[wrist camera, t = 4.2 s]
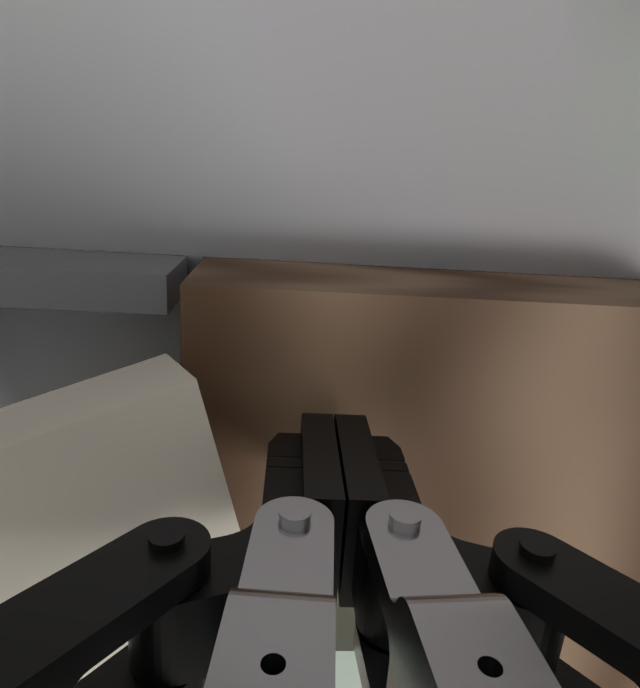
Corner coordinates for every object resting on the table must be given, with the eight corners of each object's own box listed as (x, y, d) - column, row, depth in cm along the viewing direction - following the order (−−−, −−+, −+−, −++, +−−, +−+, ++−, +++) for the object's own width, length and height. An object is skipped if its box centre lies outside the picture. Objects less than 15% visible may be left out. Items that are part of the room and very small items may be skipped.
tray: (186, 256, 16) (166, 275, 13) (191, 629, 20) (176, 704, 18) (-118, 239, 16) (-207, 256, 13) (-47, 629, 20) (-103, 707, 17)
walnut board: (652, 280, 17) (755, 312, 14) (563, 629, 22) (623, 728, 18) (204, 257, 16) (179, 284, 12) (204, 629, 21) (186, 735, 17)
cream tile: (166, 353, 13) (196, 379, 11) (219, 530, 14) (255, 584, 12) (-82, 434, 11) (-107, 486, 9) (12, 631, 12) (10, 716, 10)
